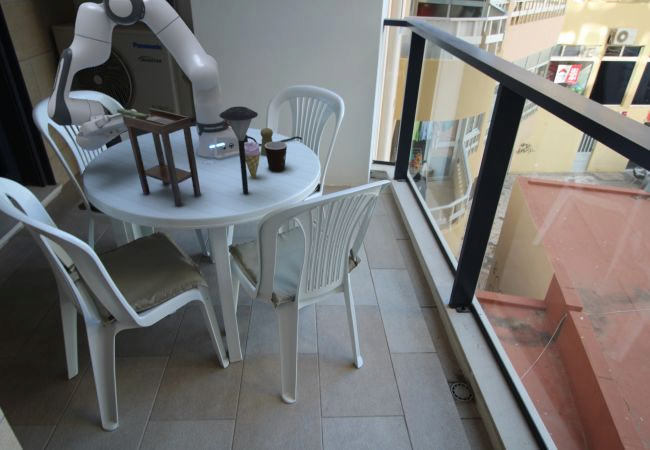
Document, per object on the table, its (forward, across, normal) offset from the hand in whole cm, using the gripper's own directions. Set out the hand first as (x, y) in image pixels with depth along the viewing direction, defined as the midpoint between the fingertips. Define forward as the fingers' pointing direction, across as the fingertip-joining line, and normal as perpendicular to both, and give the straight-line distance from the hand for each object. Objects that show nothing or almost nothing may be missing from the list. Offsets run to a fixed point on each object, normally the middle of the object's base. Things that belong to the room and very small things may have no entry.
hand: (120, 115), depth 131 cm
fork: (+11, 0, +5) cm, 12 cm away
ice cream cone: (+16, +26, +38) cm, 49 cm away
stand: (+3, 0, +31) cm, 31 cm away
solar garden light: (+21, +14, +42) cm, 49 cm away
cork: (+7, +49, +34) cm, 60 cm away
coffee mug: (+19, +39, +40) cm, 59 cm away
